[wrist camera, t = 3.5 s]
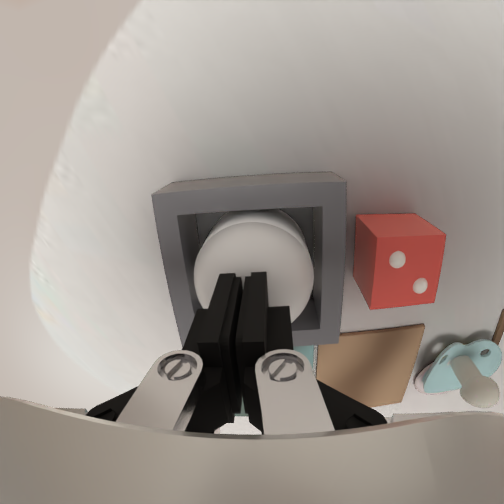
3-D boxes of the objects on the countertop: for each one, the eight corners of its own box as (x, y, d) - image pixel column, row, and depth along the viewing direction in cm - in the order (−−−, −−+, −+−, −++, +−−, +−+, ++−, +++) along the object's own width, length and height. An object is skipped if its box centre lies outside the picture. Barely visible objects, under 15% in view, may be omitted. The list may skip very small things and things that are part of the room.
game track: (509, 308, 17) (511, 310, 17) (480, 379, 20) (481, 381, 19) (197, 338, 19) (196, 341, 18) (215, 412, 22) (214, 415, 21)
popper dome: (305, 201, 15) (322, 237, 10) (306, 294, 17) (318, 358, 12) (200, 207, 15) (168, 245, 10) (213, 298, 17) (193, 361, 12)
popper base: (417, 172, 14) (454, 186, 11) (403, 304, 17) (427, 342, 14) (172, 182, 15) (143, 198, 12) (194, 316, 18) (178, 358, 15)
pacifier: (467, 381, 20) (495, 327, 18) (494, 433, 14) (534, 379, 12) (399, 392, 20) (424, 335, 18) (420, 455, 15) (460, 402, 12)
